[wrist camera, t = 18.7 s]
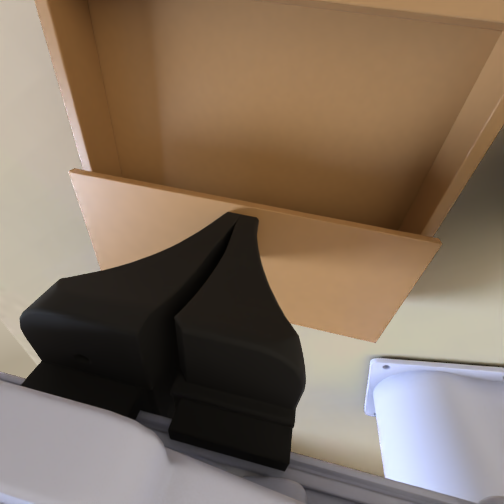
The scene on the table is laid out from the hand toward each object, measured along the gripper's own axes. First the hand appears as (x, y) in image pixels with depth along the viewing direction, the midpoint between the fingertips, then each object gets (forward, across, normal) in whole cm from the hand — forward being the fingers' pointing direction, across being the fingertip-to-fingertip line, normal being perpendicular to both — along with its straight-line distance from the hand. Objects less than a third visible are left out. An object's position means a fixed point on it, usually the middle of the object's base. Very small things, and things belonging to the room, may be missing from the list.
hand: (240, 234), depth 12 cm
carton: (+3, 0, -2) cm, 4 cm away
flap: (0, 0, +2) cm, 2 cm away
